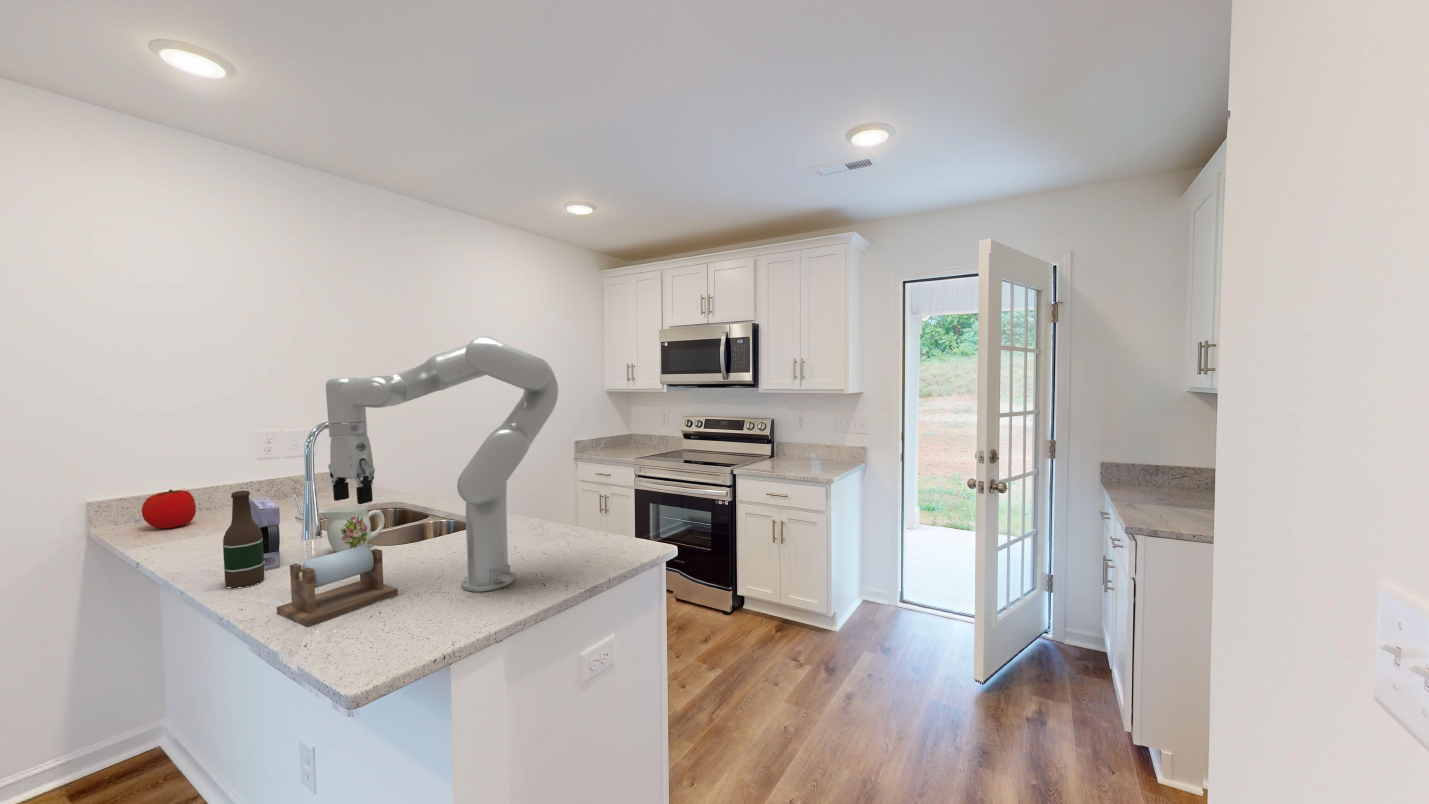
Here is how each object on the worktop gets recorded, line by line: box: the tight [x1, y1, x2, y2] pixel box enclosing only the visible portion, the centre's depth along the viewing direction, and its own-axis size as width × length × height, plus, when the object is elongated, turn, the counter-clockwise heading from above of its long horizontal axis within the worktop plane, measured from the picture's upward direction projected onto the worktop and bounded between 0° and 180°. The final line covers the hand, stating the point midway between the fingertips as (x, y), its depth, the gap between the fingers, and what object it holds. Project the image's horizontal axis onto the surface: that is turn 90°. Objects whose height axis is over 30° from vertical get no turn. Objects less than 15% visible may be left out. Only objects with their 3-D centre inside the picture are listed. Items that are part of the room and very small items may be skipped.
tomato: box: [141, 488, 197, 529], centre depth 195 cm, size 16×14×14 cm
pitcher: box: [316, 504, 385, 553], centre depth 165 cm, size 11×18×14 cm, turn 146°
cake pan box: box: [249, 496, 281, 571], centre depth 155 cm, size 19×5×18 cm, turn 47°
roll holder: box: [276, 548, 399, 628], centre depth 126 cm, size 14×19×11 cm
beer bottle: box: [222, 490, 265, 588], centre depth 139 cm, size 8×8×24 cm
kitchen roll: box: [299, 544, 374, 589], centre depth 125 cm, size 6×15×6 cm
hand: (353, 501), depth 129 cm, fingers open, 9 cm apart
